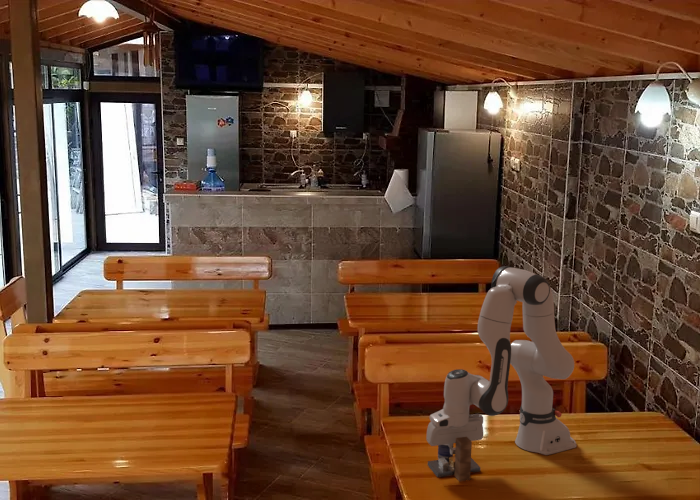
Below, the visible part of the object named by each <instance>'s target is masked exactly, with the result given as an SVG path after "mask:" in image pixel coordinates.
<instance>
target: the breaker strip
mask: <svg viewBox="0 0 700 500" xmlns="http://www.w3.org/2000/svg"><path fill="white" fill-rule="evenodd" d="M427 466H428V468H429V469H430V470H431V472H433V474H434V475H435V476H436V477H437V478H443V477H451V476H452V477H453V476H454V472H455V455H453V456H452V457H449V459H445V458H439V459H435V460H428V461H427ZM481 468H482V467H481V466H480V465H479V464H478V463H477V462H476V461H475V459H473V457H471V470H470V474H472V473H471V472H473V473H479V472H481Z"/></svg>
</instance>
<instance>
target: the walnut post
mask: <svg viewBox="0 0 700 500" xmlns="http://www.w3.org/2000/svg"><path fill="white" fill-rule="evenodd" d="M472 442H473V441H471V440H470V439H469V438H468V437H460V438H456V443H455V447H454V448H455V454H454V456H455V472H454V475H453V476H454V478H456V480H457V481H458V482H466V480H467V481H470V480H471V473H470V470H471V458H472V447H473V446H472V445H473V443H472Z"/></svg>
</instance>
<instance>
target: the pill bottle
mask: <svg viewBox="0 0 700 500" xmlns="http://www.w3.org/2000/svg"><path fill="white" fill-rule="evenodd" d="M437 446H438V447H437V460H439V458H445V459H449V457H452V456H454V454H453V455H451V454H450V448H449V446H448V445H447V444H444V445H437ZM452 448H454V445H453V446H452Z"/></svg>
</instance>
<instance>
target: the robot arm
mask: <svg viewBox="0 0 700 500" xmlns="http://www.w3.org/2000/svg"><path fill="white" fill-rule="evenodd" d="M553 296H554V295H553V292H552V288H551V286H550V283H549V281H548V280H547V278H545V277H544V276H542V275H540V274H536V273H534V272H533V271H529V270H527V269H521V268H518V267H513V266H509V265H503V266H500V267H498V268H497V269H496V270H495V272H494V273H493V275H492V278H491V287H490V289H489V290H488V291H487V293H486V295H485V297H484V299H483V303H482V305H481V309H480V312H479V316H478V320H477V334H478V336H479V339H480V340H481V341H482V342H483V344H484V345H485V346H486V348H487V350H488V352H489V354H490V357H491V366H490V367H491V368H490V375H489V380H488V379H487V378H485V377H483V376H482V375H479V374H473V373H470V372H468V371H467V370H466V369H463V368H462V369H457V368H456V369H454V370H451V371H448V373H447V374H446V377H445V380H444V384H443V385H444V386H443V398H444V403H443V406H442V409H440V410H438V411H435V412H434V413H431V414H430V415H429V420H430V422H428V425H427V429H426V438H425V439H426V441H427V442H426V443H428V445H430V446H431V447H436V446H438V445H444V444H447V445H448V446H449V448H450V454H451V455H453V456H454V455H455V447H454V444H456V438H460V437H468V438H469V439H470V440H471V442H474V441H481V440H483V438H484V425H483V424H484V416H483V415H482V414H480V413H475V414H473V413H472V414H470V407H471V406H472V405H475V406H476V407H477V408H479V409H480V410H481V411H482V412H483V413H484V414H485V415H487V416H490V417H493V416H498V415H499V414H501V413H503V412H504V411H505V410H506V408H507V406H508V403H509V391H508V388H509V387H508V385H509V377H510V370H511V369H510V367H511V366H512V367H513V369H514V371H515V372H516V373H517V376H518V378H519V381H520V384H521V405H520V408H519V427H518V431H517V435H516V438H515V440H514V443H515V444H516V446H518V447H519V448H520V449H522V450H525V451H528V452H532V453H536V454H537V453H539V454H541V455H544V456H548V455H553V454H557V453H560V452H565V451H567V450H571V449H575V448H576V449H577V442H576V440H575V439H574V438H573V437H571V432H570V430H569V427H568V426H566V424H564V423H563V422H562V421H561V420H560V419H558V418H562V416H563V415H562V412H560V411H559V410H556V409H555V408H554V407H553V402H554V390H553V388H552V386H551V385H550V384H549V383H548V382H547V381H546V379H545V378H546V377H547V378H550V379H556V380H557V379H558V380H566V379H568V378H569V377H570V376H571V375H572V373H573V372H574V369H575V359H574V357H573V355H572V354H571V353H570V352H569V351H568V350H567V349H566V348H565V347H564V345H563V344H562V342H561V341H560V338H559V336H558V334H557V331H556V321H555V303H554V302H555V301H554V297H553ZM518 302H520V303H522V330H523V332H524V334H525V335H526V336H527V338H529V339H530V340H531V341H530V340H529V339H528V340H526V339H515V340H513V341H512V342H511V326H512V322H513V318H514V310H515V306H516V304H517V303H518ZM544 377H545V378H544ZM452 446H453V448H452Z"/></svg>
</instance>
